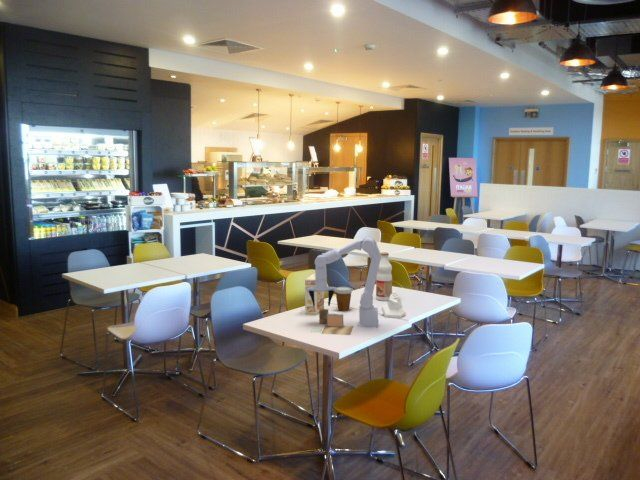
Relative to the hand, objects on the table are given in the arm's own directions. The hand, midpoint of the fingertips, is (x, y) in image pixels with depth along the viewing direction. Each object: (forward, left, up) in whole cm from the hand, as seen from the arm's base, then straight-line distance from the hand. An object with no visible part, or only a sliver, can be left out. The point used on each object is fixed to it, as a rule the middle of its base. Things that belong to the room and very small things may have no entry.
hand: (321, 305), depth 270 cm
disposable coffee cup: (-8, -27, -10) cm, 30 cm away
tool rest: (0, +13, -9) cm, 16 cm away
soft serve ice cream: (-36, -21, -10) cm, 43 cm away
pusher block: (-1, 0, -9) cm, 9 cm away
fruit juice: (-29, -53, -10) cm, 61 cm away
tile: (-8, +5, -9) cm, 13 cm away
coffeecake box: (+7, -21, -10) cm, 24 cm away
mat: (-10, +10, -9) cm, 17 cm away
